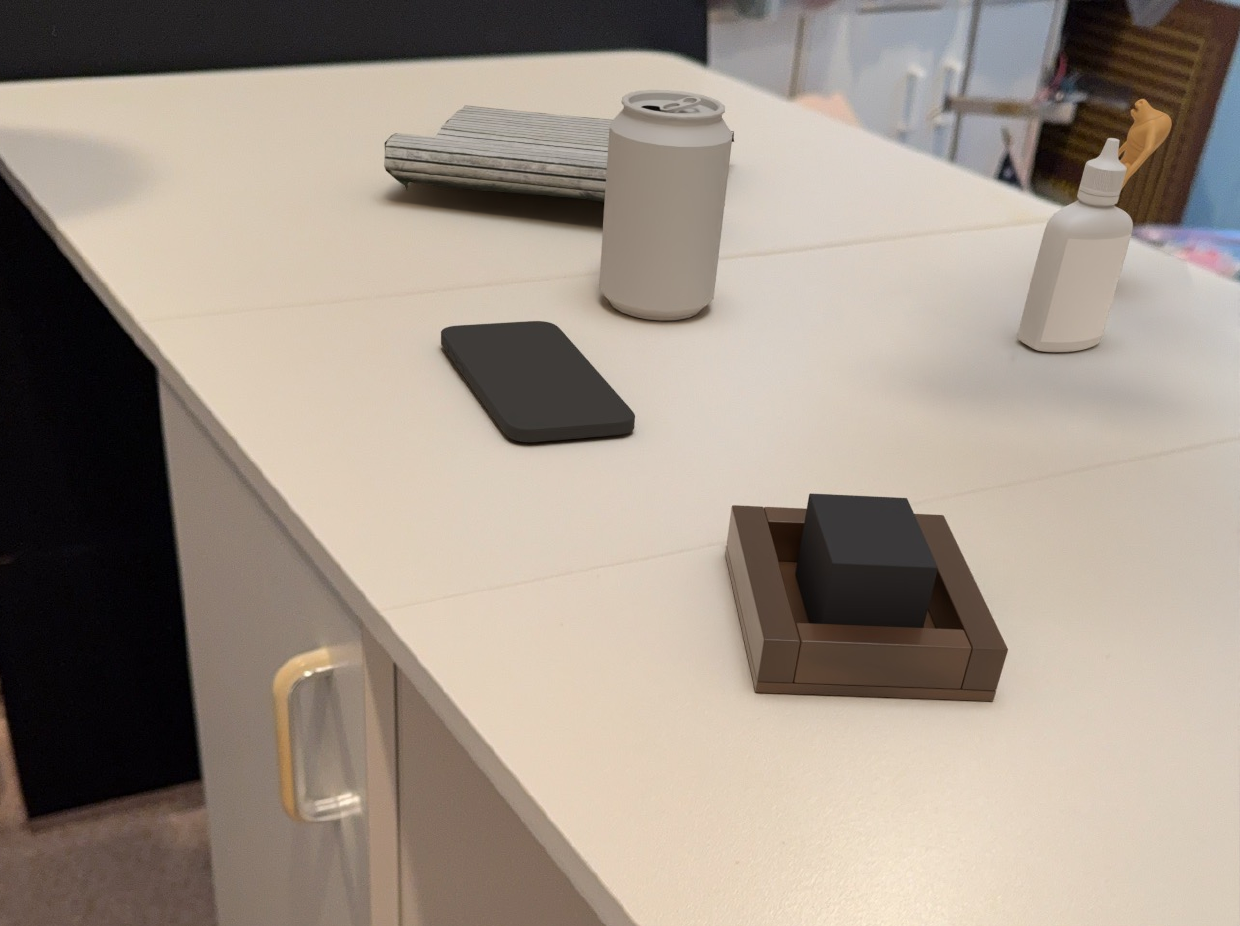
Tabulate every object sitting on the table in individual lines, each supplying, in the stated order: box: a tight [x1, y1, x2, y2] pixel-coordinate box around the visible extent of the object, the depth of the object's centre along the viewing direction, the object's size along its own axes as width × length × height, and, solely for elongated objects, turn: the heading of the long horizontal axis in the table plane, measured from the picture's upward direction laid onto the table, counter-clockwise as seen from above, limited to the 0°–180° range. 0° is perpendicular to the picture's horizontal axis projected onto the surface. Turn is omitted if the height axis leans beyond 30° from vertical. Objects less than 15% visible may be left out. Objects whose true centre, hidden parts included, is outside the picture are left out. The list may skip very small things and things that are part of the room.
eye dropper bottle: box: [1017, 137, 1134, 353], centre depth 89 cm, size 4×6×12 cm
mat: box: [383, 104, 735, 203], centre depth 112 cm, size 23×24×5 cm
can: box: [598, 89, 733, 322], centre depth 90 cm, size 8×8×12 cm
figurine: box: [1118, 98, 1173, 191], centre depth 99 cm, size 8×6×12 cm
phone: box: [440, 320, 636, 443], centre depth 81 cm, size 7×1×15 cm
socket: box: [724, 504, 1009, 702], centre depth 63 cm, size 10×12×2 cm
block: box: [795, 492, 938, 628], centre depth 62 cm, size 6×4×4 cm
